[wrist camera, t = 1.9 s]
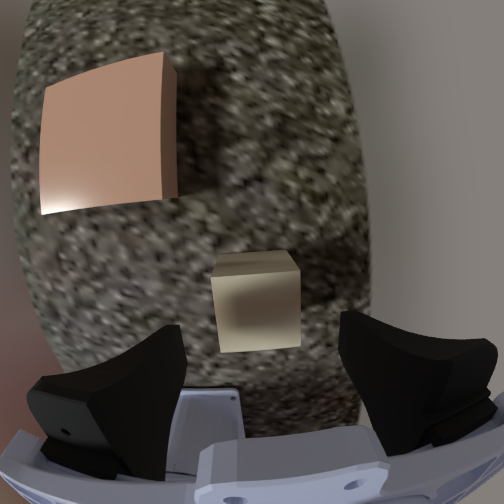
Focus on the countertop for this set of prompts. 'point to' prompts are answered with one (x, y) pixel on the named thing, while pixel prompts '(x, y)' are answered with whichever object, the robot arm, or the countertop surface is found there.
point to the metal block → (257, 301)
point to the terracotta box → (110, 136)
